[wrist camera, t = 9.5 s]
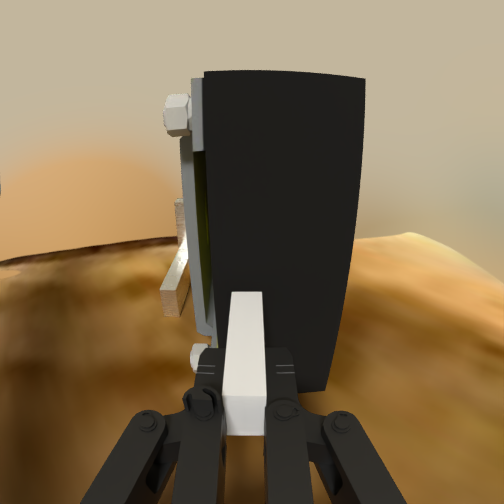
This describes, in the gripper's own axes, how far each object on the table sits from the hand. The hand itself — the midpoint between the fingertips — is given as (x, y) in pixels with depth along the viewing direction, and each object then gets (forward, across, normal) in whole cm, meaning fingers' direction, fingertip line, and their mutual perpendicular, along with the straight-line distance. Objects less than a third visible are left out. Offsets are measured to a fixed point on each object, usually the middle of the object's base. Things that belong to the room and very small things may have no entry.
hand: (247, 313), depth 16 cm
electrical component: (+10, +1, -8) cm, 13 cm away
